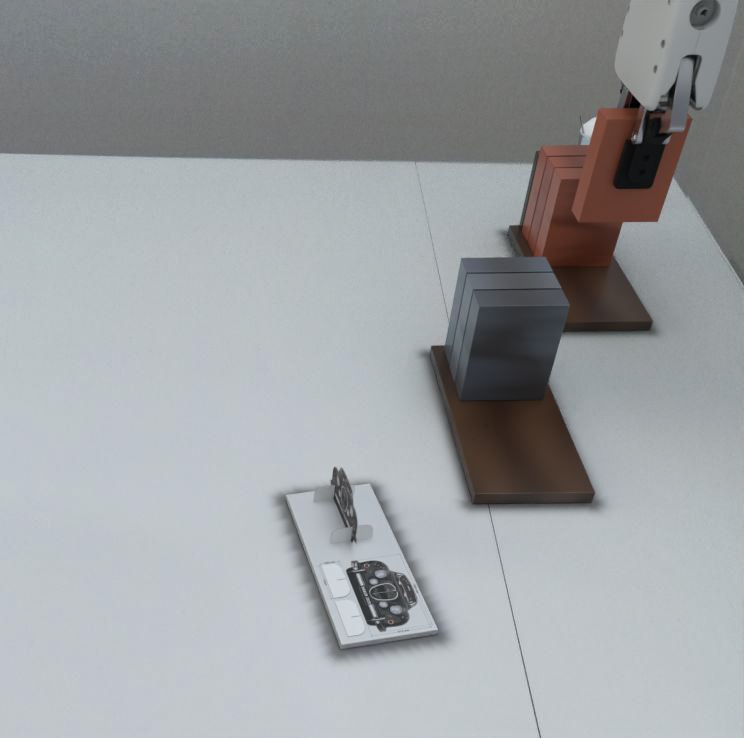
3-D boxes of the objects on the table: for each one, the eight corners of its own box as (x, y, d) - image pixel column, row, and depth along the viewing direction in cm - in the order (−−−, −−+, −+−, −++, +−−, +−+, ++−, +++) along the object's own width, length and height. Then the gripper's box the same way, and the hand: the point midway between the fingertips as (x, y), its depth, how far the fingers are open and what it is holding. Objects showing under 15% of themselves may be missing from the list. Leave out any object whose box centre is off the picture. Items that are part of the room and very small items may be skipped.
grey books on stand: (529, 353, 88) (555, 251, 81) (592, 502, 74) (630, 394, 67) (429, 354, 88) (447, 252, 81) (472, 503, 74) (498, 396, 67)
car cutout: (285, 499, 75) (288, 453, 72) (369, 487, 75) (375, 441, 72) (340, 649, 64) (346, 603, 61) (437, 634, 65) (448, 588, 62)
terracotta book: (649, 209, 88) (682, 107, 81) (658, 222, 86) (693, 118, 80) (571, 210, 88) (598, 107, 81) (578, 222, 86) (607, 119, 80)
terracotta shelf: (591, 232, 104) (618, 138, 97) (650, 330, 91) (685, 229, 84) (507, 233, 104) (527, 140, 97) (552, 331, 91) (580, 230, 84)
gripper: (799, -34, 66) (703, 222, 79) (710, -92, 77) (639, 140, 90) (687, -33, 66) (610, 223, 79) (615, -91, 77) (558, 141, 90)
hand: (626, 177), depth 84 cm, fingers closed on terracotta book, 2 cm apart
